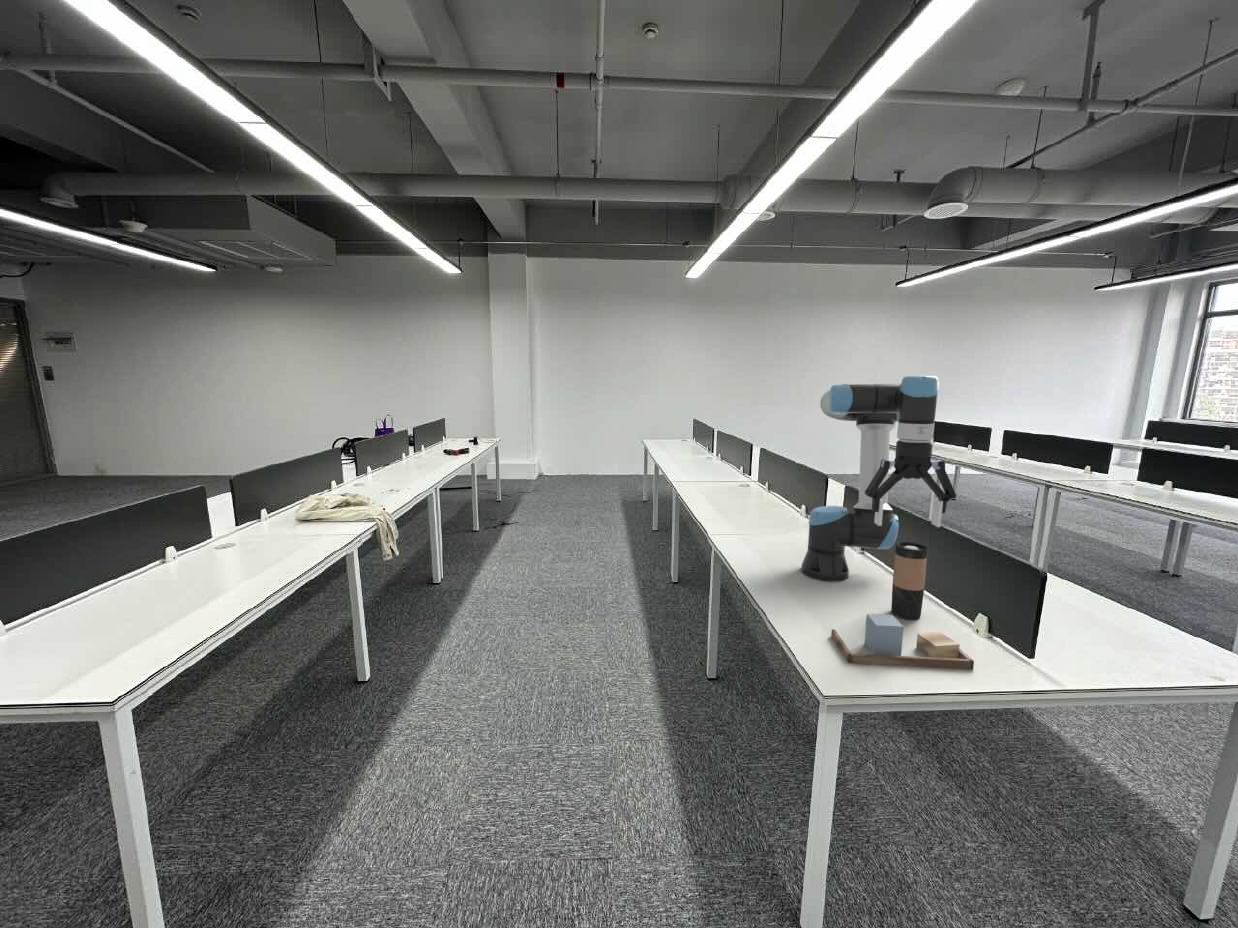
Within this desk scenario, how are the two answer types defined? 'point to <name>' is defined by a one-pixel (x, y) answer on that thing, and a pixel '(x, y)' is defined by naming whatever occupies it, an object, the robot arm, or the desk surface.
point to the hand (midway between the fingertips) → (906, 525)
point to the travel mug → (908, 580)
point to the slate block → (883, 635)
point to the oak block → (937, 645)
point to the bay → (903, 658)
